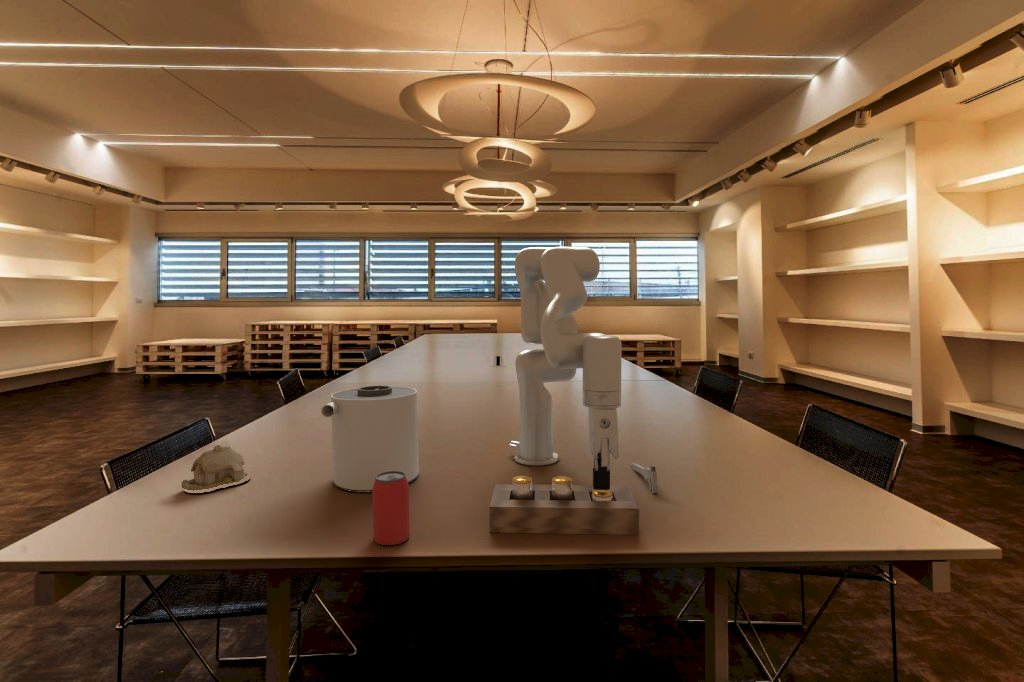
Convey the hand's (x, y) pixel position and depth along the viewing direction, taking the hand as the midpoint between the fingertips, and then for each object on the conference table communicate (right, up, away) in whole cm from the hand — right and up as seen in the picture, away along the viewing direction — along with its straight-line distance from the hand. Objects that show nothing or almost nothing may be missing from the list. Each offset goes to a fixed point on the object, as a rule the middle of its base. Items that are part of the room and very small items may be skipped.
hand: (601, 488), depth 95 cm
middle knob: (-8, -3, 0) cm, 8 cm away
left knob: (-16, -3, +1) cm, 16 cm away
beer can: (-40, -8, -7) cm, 41 cm away
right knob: (0, -5, 0) cm, 5 cm away
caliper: (+15, -6, +24) cm, 29 cm away
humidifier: (-54, -6, +25) cm, 60 cm away
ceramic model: (-91, -7, +23) cm, 94 cm away
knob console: (-8, -7, 0) cm, 10 cm away
